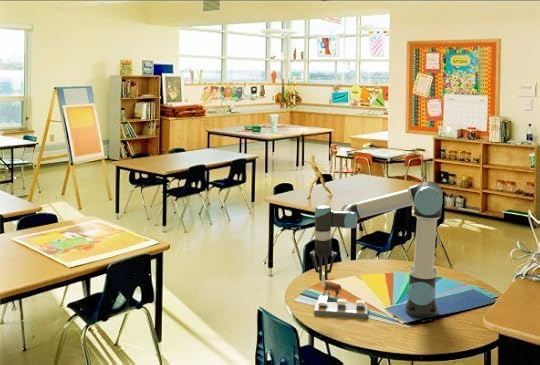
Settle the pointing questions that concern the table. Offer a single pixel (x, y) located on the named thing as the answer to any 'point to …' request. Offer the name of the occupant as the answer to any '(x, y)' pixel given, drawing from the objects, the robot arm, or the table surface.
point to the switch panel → (341, 310)
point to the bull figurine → (332, 287)
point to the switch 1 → (322, 300)
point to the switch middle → (341, 301)
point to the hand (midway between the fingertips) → (323, 286)
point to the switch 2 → (360, 302)
